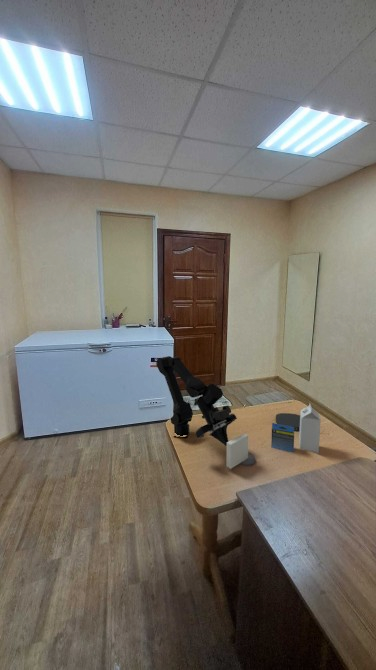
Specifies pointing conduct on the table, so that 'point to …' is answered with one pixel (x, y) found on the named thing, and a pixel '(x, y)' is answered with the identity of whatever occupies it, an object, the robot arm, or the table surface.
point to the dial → (239, 452)
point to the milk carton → (309, 430)
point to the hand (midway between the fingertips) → (227, 445)
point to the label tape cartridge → (282, 437)
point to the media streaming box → (288, 420)
